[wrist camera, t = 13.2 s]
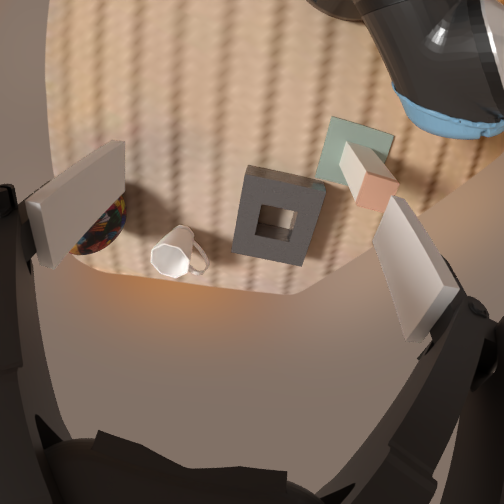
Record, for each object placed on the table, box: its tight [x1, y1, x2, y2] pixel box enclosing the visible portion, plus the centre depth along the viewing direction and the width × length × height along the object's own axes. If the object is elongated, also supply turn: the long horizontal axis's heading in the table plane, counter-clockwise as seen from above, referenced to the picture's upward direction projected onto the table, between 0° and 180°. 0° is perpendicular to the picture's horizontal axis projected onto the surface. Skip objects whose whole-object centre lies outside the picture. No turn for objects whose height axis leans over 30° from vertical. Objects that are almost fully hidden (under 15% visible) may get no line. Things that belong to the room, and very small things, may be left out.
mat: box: [315, 116, 394, 186], centre depth 44 cm, size 10×10×1 cm
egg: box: [69, 195, 126, 255], centre depth 47 cm, size 11×11×15 cm
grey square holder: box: [231, 165, 326, 267], centre depth 50 cm, size 14×12×4 cm
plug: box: [339, 141, 400, 213], centre depth 38 cm, size 4×4×14 cm
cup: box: [151, 225, 209, 278], centre depth 53 cm, size 7×10×8 cm
